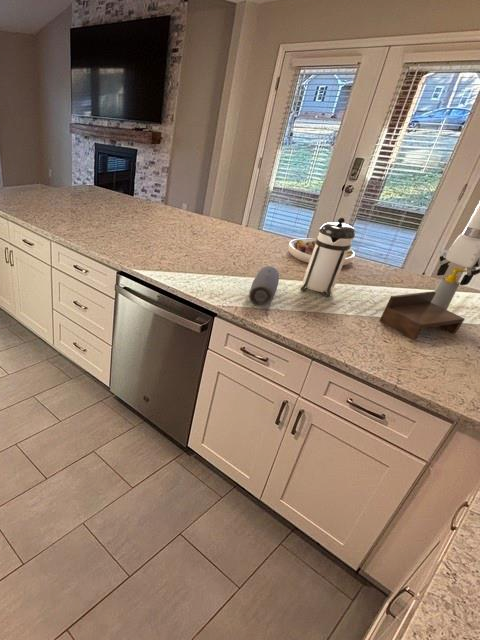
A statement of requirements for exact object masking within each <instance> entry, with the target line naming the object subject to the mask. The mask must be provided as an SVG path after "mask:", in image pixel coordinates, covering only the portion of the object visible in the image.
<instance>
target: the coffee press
mask: <svg viewBox="0 0 480 640" xmlns="http://www.w3.org/2000/svg"><path fill="white" fill-rule="evenodd" d="M345 221H346V219H345V217H339V219H337V222H332V221H331V222H327V223H324V224H323V225H322V226H320V227H319V229H318V235H317V237H316V238H315V239H316V242H315V243H316V244H315V247H314V250H313V253H312V256H311V258H310V261H309V263H307V267H306V270H305V274H304V276H303V279H302V284H303V285H302V286H301V287H300V289H299V290H300V291H301V292H303V293H305V292H306V291H307V290H311V291H313V292H314V291H315V292H318V293H319V292H320V293H323V294H324V297H325V298H330V297H331V291H332V290H334V288H335V286H336V283H337V281H338V278H339V276H340V273H341V270H342V268H343V266H344V265H343V263H344V261H345V258H346V255H347V253H348V250H349V249H351V247H352V243H353V240H354V239H355V238H356V230H355V228H354V227H352V226H351V225H349V224H346V223H345Z"/></svg>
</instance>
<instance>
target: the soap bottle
mask: <svg viewBox="0 0 480 640" xmlns="http://www.w3.org/2000/svg"><path fill="white" fill-rule="evenodd" d="M451 269H452V270H453V271H452V274H451V273H450V274H449V275H448V276H445V277H442V278H441V279H440V281H439V282H438V284H437V285H436V287H435V288H434V290H433V291H434V292H436V294H435V296H434V298H433V299H432V301H431V303H433V304H435V305H437V306H439V307H441V308H444V309H446V310H448V309H449V306H450V304H451V302H452V300H453V297H454V296H455V294H456V292H457V290H458V288H459V286H460V281H459V280H458V275H457V274H458V273H467V269H461V268H458V267H453V266H452V268H451Z"/></svg>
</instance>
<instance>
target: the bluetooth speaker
mask: <svg viewBox="0 0 480 640" xmlns="http://www.w3.org/2000/svg"><path fill="white" fill-rule="evenodd" d="M279 281H280V274H279V270H278V269H277V268H276V267H274V266H264V267H262V268H261V269H260V270H258V272H257V273H256V275H255V277H254V279H253V280H252V283H251V286H250V289H249V295H248V296H249V297H248V298H249V301H250V303H251V304H252V305H253V306H256V307H261V308H262V307H263V308H264V307H266V306H268V305H270V304H271V303H272V301H273V300H274V297H275V295H276V293H277V290H278V287H279Z"/></svg>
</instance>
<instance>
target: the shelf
mask: <svg viewBox="0 0 480 640" xmlns="http://www.w3.org/2000/svg"><path fill="white" fill-rule="evenodd" d="M435 294H436V292H434V290H433V291H425V292H416V293H415V292H414V293H406V294H398V295H397V294H396V295H391V296H390V298H389V299H388V302H387V303H386V306H385V308H384V310H383V312H382V314H381V316H380V318H379V321H380V322H382V324H385V325H387V326H388V327H390V328H392V329H394V330H395V331H396V332H399V333H400V334H402V335H404V336H406V337H407V338H408V339H411V340H412V341H415V340H417V339H418V337H419V336H420V334H421V332H422V330H423V329H427V328H433V327H439V328H441V329H443V330H444V331H447V332H449V333H450V334H453V335H456V334H457V333H458V331H459V329H460V327H462V324H463V323H464V321H465V317H462V316H460V315H458V314H456V313H454V312H452V311H450V310H448V309H447V310H446V309H444V308H441V307H439V306H437V305H435V304H433V303H431V301H432V299H433V298H434V296H435Z"/></svg>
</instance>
